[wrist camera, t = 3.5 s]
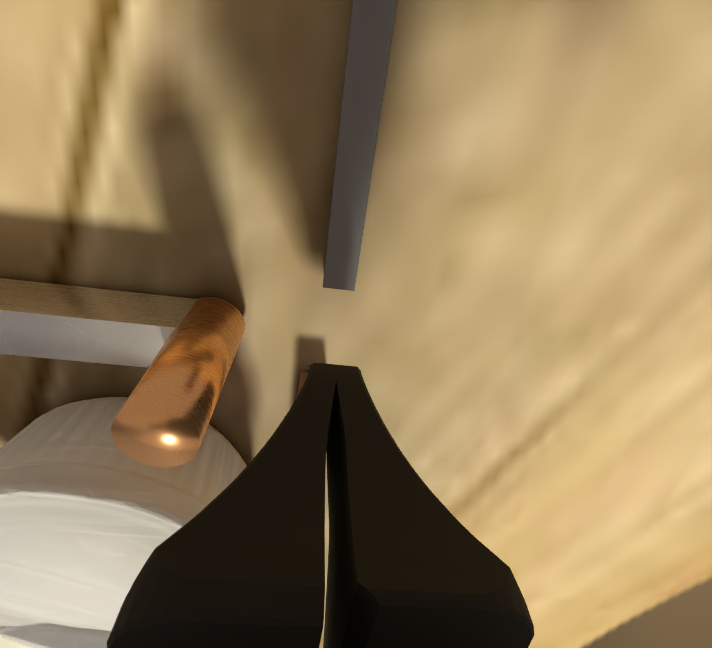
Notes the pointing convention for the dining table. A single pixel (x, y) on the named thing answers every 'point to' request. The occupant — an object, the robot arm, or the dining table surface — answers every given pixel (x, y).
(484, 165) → the dining table surface
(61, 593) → the ramekin
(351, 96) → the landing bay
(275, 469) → the robot arm
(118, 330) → the brown cylinder with bar
